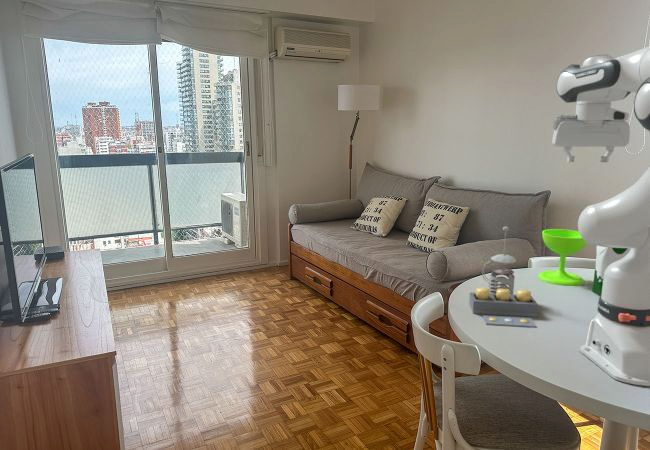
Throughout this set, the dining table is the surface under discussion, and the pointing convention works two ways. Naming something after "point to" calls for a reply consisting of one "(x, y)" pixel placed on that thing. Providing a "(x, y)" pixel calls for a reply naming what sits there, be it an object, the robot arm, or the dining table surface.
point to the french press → (501, 272)
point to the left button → (482, 294)
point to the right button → (523, 296)
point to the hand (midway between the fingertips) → (587, 162)
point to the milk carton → (605, 264)
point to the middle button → (502, 295)
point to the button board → (505, 310)
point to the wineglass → (562, 255)
